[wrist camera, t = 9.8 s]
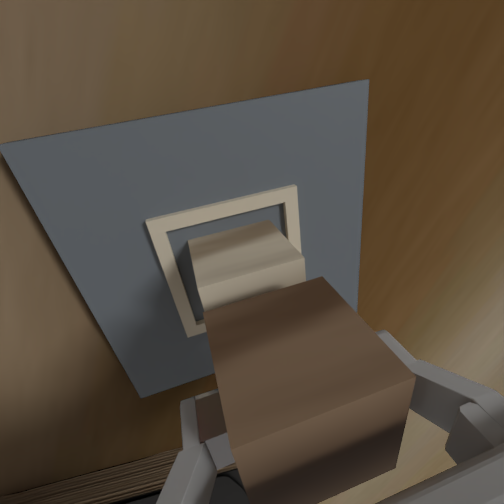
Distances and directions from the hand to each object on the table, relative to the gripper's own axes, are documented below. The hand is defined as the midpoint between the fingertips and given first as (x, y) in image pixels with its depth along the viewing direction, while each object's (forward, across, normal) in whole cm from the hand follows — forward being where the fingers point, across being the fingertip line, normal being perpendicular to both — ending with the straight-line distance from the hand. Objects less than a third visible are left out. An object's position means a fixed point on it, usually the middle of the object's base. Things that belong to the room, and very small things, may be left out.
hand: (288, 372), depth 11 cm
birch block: (+9, 0, 0) cm, 9 cm away
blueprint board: (+10, 0, 0) cm, 10 cm away
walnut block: (+2, 0, 0) cm, 2 cm away
